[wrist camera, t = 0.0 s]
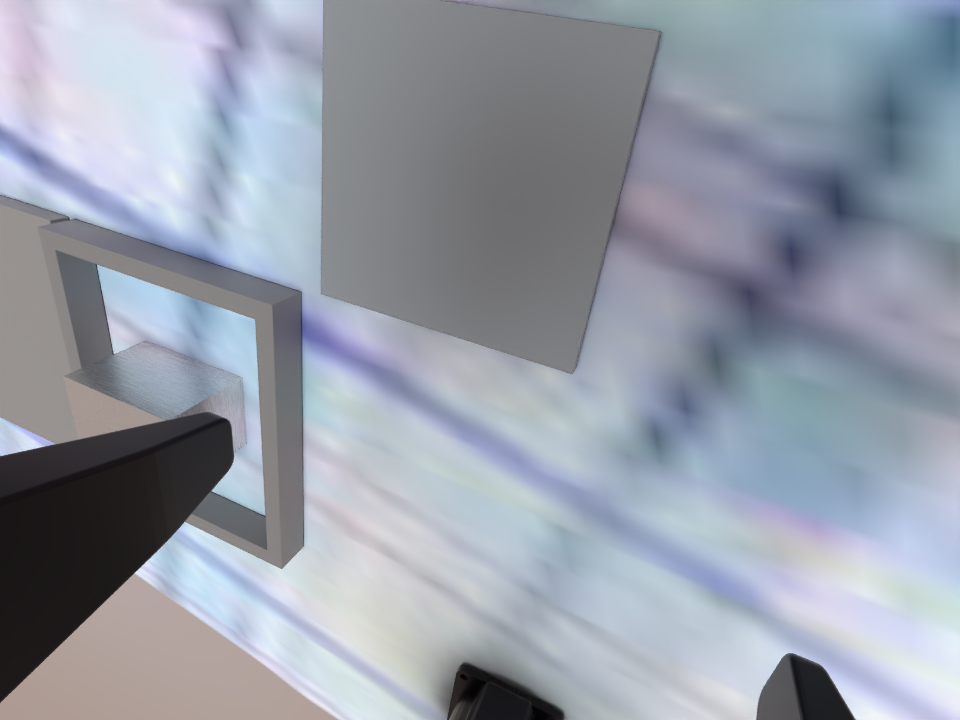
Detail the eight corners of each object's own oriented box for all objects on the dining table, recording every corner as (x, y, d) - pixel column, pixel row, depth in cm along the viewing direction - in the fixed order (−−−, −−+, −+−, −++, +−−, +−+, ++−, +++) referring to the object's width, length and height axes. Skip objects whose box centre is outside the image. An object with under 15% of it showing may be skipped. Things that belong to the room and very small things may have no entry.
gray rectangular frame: (303, 546, 35) (281, 569, 34) (0, 403, 43) (-30, 416, 41) (301, 292, 27) (272, 305, 26) (-73, 171, 35) (-114, 175, 33)
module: (248, 442, 34) (178, 492, 29) (157, 403, 36) (80, 446, 31) (243, 376, 31) (167, 421, 27) (147, 340, 33) (63, 376, 29)
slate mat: (575, 369, 23) (572, 374, 23) (327, 290, 27) (321, 293, 26) (661, 32, 18) (659, 31, 17) (331, -14, 21) (323, -17, 20)
